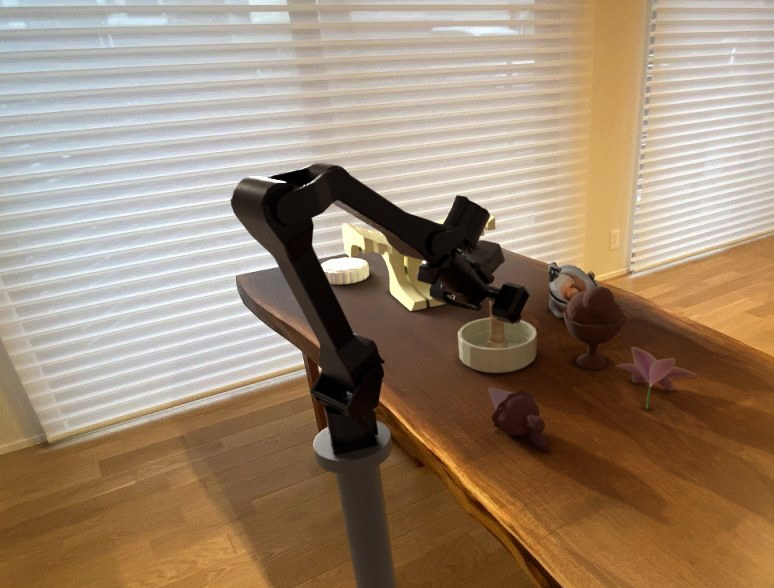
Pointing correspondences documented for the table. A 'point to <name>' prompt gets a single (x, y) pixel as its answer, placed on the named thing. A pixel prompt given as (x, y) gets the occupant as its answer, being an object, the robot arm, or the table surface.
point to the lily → (654, 370)
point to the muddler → (496, 332)
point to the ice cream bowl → (593, 322)
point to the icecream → (518, 415)
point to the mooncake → (346, 270)
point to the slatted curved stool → (395, 264)
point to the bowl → (497, 359)
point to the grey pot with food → (567, 285)
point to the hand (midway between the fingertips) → (499, 314)
